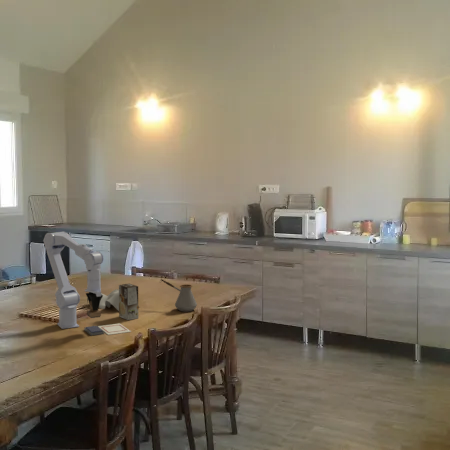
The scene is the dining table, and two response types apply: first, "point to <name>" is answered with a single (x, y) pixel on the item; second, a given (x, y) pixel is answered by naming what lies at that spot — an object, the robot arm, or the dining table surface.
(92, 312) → the stamp
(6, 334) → the dining table surface
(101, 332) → the ink pad
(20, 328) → the dining table surface
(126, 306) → the coffee box
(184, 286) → the coffee pot
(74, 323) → the robot arm
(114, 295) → the sculpture
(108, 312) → the dining table surface
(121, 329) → the sheet
